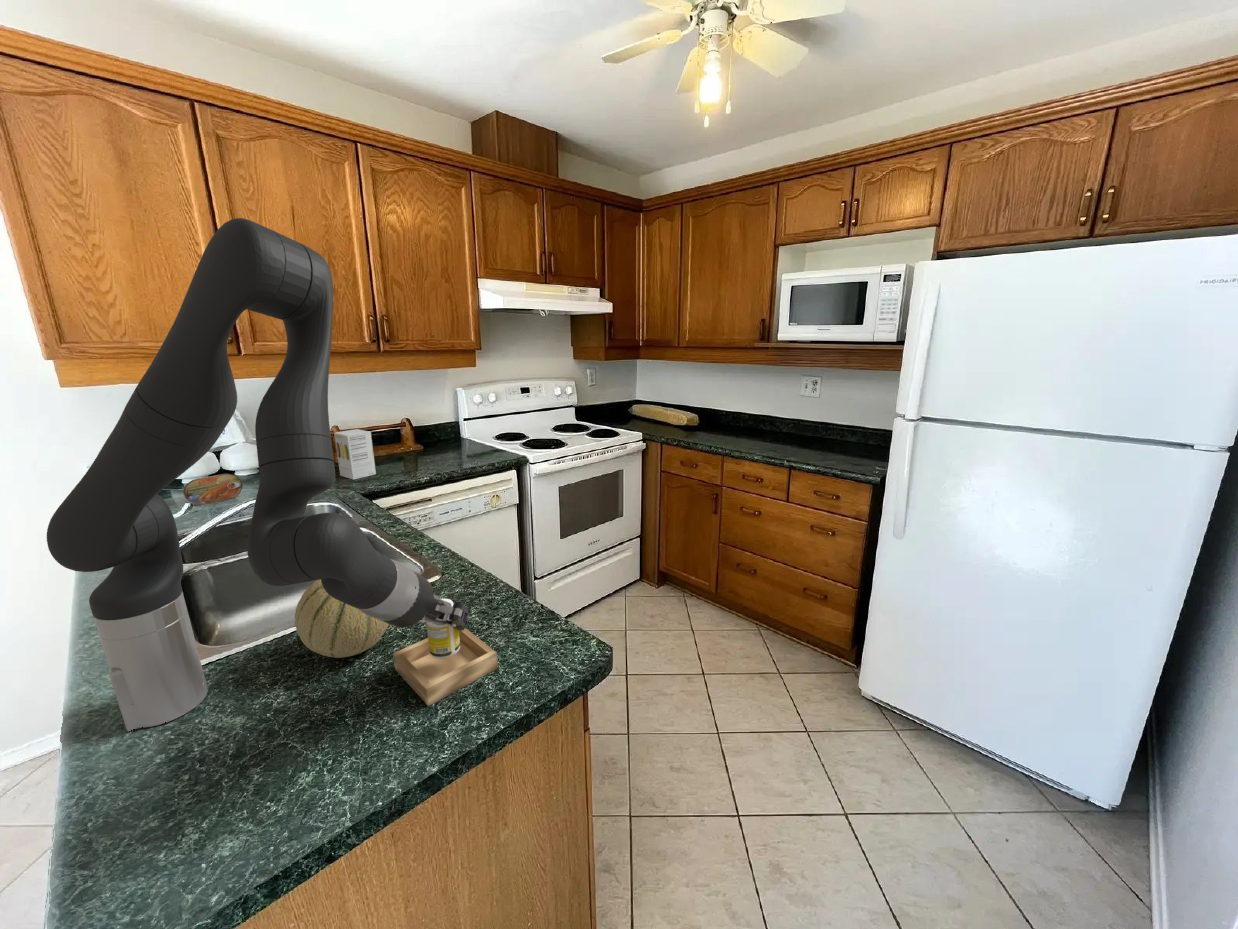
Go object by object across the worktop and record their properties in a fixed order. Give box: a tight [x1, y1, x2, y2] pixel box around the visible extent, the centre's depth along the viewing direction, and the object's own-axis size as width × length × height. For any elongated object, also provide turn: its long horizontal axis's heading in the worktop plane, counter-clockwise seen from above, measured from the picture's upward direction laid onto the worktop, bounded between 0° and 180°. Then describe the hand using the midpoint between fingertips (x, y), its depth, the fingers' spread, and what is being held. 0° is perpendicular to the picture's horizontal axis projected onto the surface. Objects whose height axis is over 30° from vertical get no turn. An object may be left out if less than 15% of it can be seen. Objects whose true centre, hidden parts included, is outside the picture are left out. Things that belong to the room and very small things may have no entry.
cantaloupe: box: [294, 579, 390, 659], centre depth 86 cm, size 15×15×15 cm
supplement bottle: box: [426, 598, 460, 659], centre depth 81 cm, size 5×5×8 cm
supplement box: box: [334, 428, 377, 480], centre depth 189 cm, size 10×9×17 cm
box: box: [392, 627, 499, 707], centre depth 82 cm, size 12×12×3 cm
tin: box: [183, 473, 244, 506], centre depth 161 cm, size 15×3×8 cm, turn 143°
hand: (449, 622), depth 82 cm, fingers closed on supplement bottle, 4 cm apart
